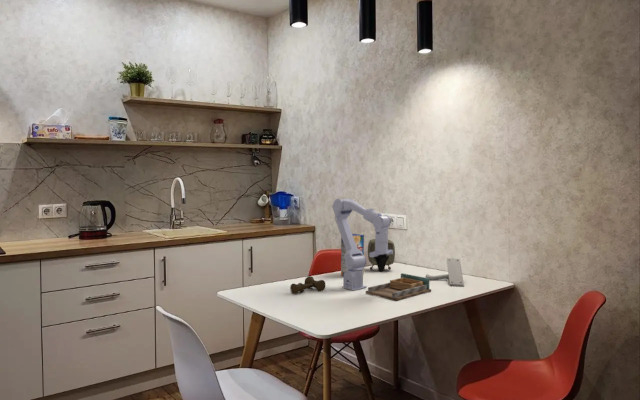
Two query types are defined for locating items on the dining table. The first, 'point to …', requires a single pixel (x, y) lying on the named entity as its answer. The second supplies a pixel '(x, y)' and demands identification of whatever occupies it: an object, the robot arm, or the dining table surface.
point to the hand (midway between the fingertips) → (381, 271)
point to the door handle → (451, 273)
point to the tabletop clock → (391, 256)
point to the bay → (399, 294)
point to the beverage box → (359, 243)
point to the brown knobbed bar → (308, 285)
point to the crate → (405, 283)
